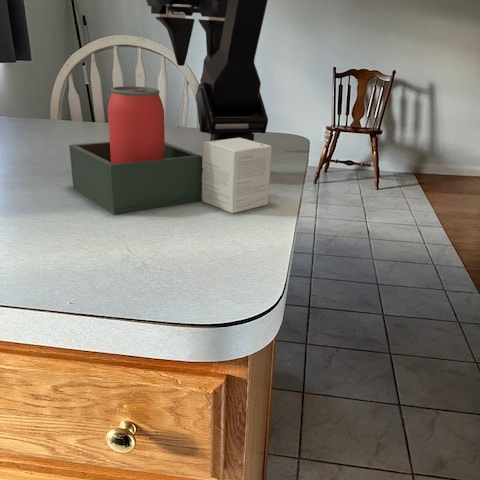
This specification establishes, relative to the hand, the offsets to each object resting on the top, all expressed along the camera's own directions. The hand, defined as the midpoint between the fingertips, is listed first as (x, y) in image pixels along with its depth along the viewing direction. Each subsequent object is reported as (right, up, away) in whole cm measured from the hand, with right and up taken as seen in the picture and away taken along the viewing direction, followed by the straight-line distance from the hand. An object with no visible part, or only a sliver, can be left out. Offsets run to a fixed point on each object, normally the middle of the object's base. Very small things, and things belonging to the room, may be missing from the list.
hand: (195, 68), depth 87 cm
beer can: (-6, -24, -19) cm, 31 cm away
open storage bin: (-6, -25, -18) cm, 31 cm away
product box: (+7, -26, -19) cm, 33 cm away
